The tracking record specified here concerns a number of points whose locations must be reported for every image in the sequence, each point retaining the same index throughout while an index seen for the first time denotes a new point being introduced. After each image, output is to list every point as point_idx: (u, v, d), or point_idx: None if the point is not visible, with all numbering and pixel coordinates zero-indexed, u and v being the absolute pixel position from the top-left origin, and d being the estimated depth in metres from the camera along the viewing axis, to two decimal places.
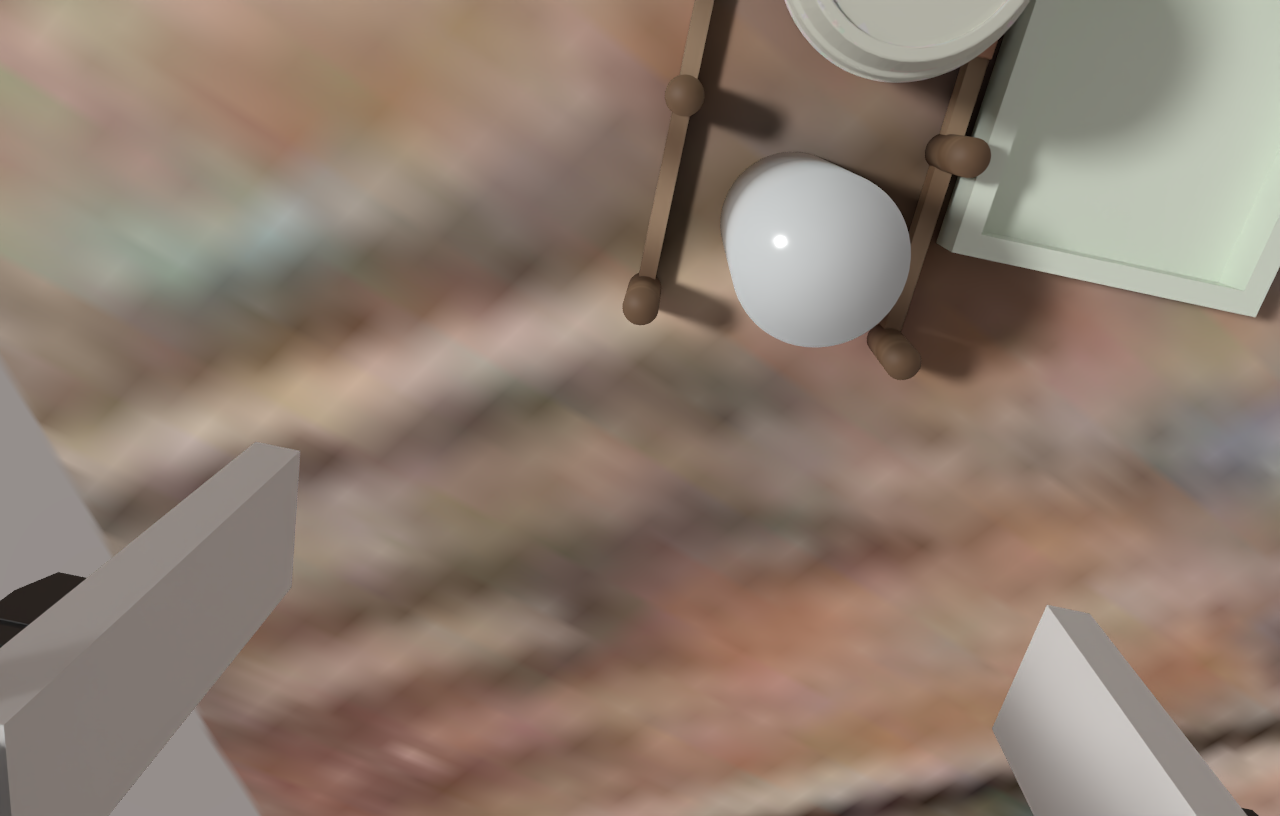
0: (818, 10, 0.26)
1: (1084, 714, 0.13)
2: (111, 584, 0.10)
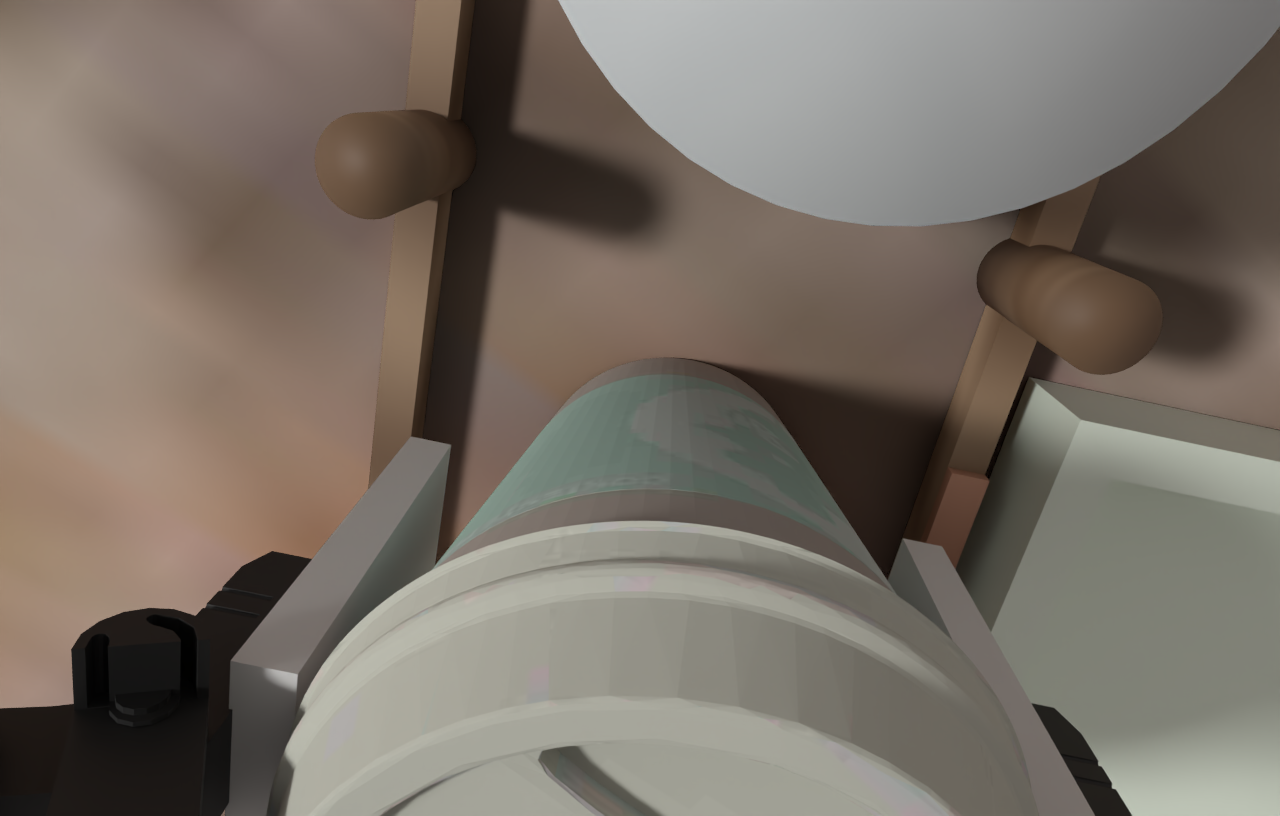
0: None
1: None
2: (338, 560, 0.11)
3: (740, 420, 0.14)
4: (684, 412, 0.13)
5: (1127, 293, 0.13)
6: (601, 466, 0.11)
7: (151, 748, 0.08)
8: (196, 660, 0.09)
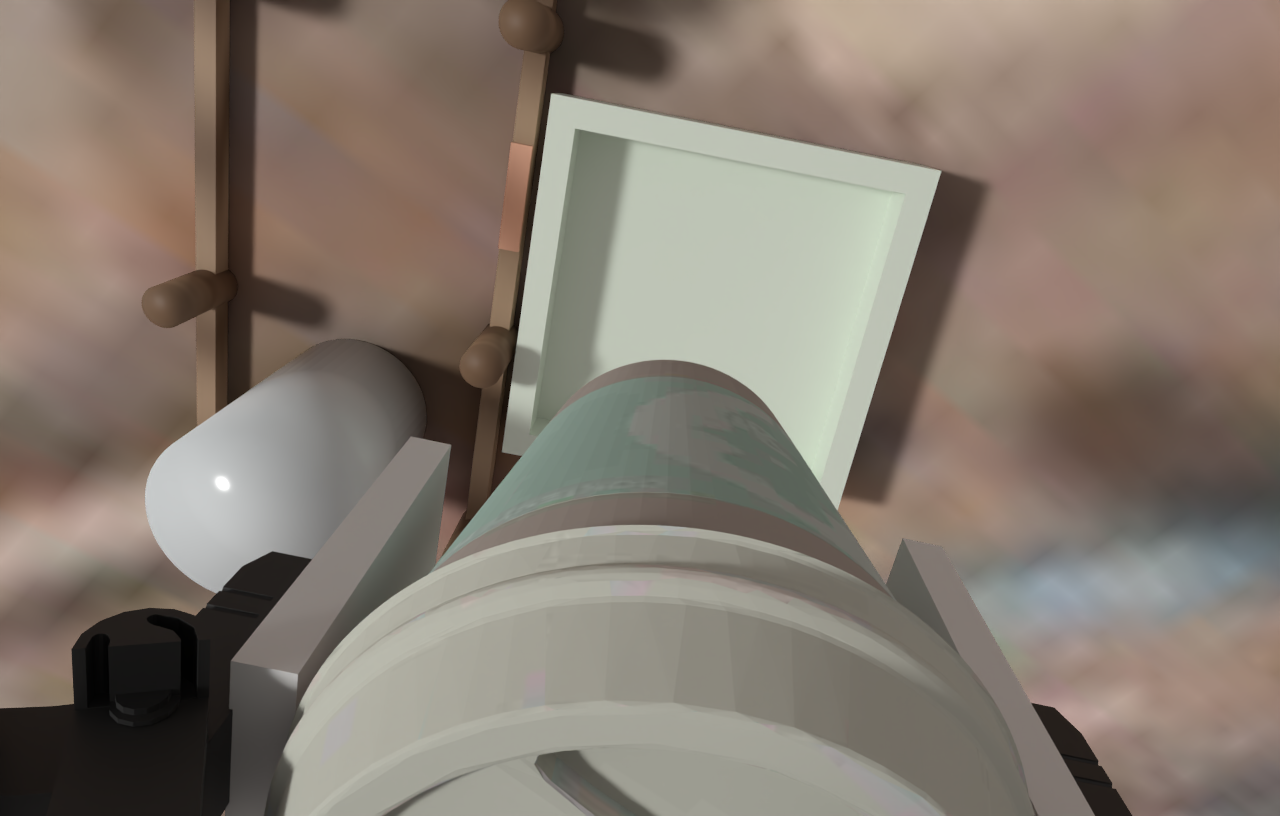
0: None
1: None
2: (338, 559, 0.11)
3: (738, 422, 0.14)
4: (682, 414, 0.13)
5: (527, 3, 0.27)
6: (598, 468, 0.11)
7: (151, 748, 0.08)
8: (196, 660, 0.09)
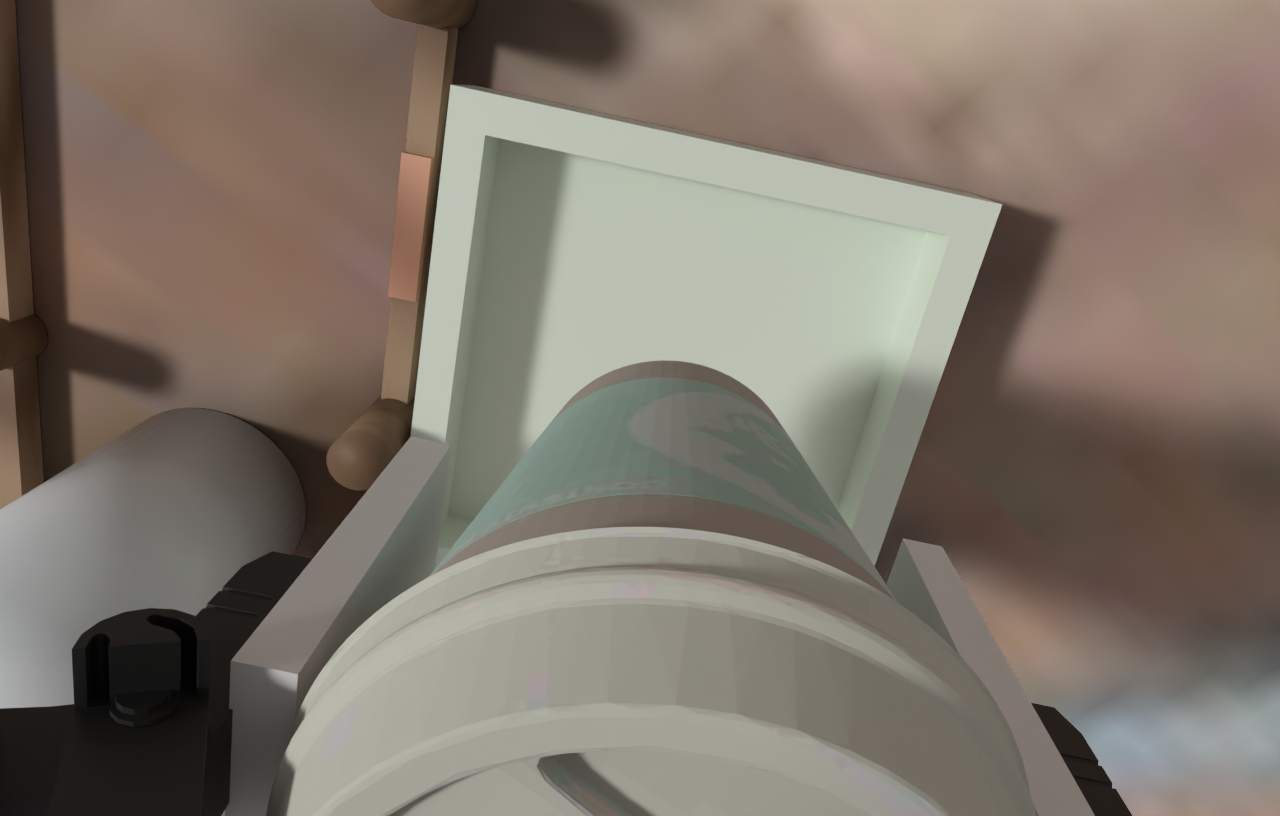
0: None
1: None
2: (337, 560, 0.11)
3: (739, 423, 0.14)
4: (683, 416, 0.13)
5: None
6: (600, 469, 0.11)
7: (151, 748, 0.08)
8: (196, 660, 0.09)
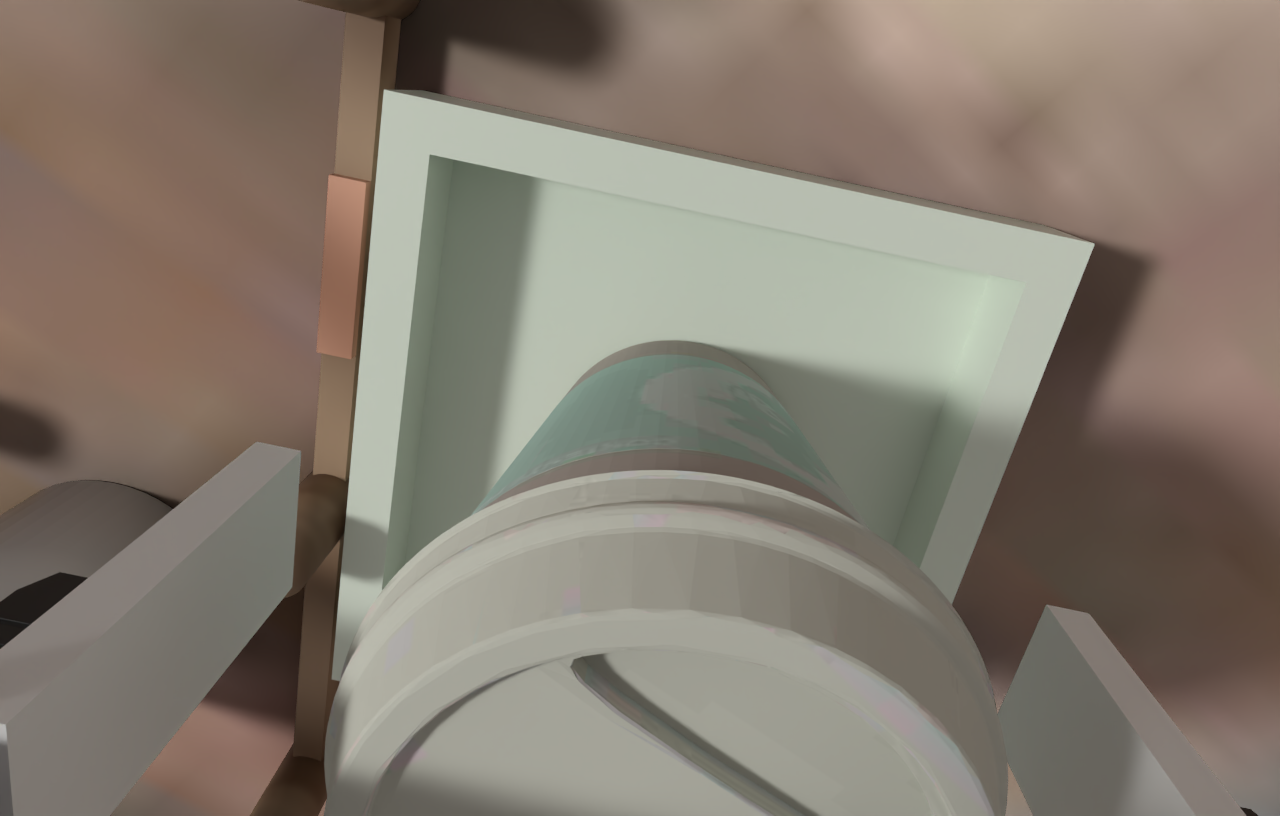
0: None
1: (1084, 714, 0.13)
2: (112, 584, 0.10)
3: (740, 394, 0.15)
4: (689, 386, 0.15)
5: None
6: (615, 431, 0.12)
7: None
8: None
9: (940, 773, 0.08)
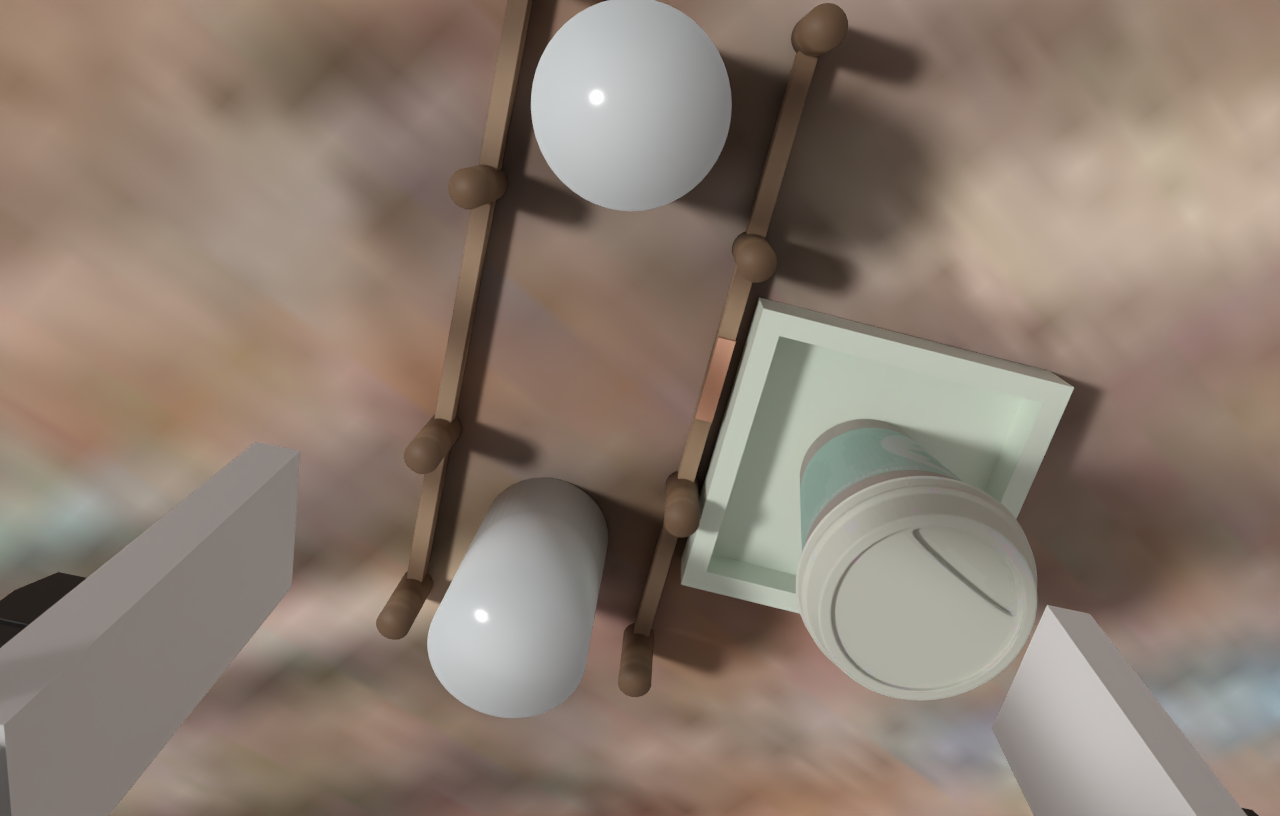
0: (830, 657, 0.30)
1: (1084, 714, 0.13)
2: (111, 584, 0.10)
3: (920, 449, 0.35)
4: (901, 445, 0.35)
5: (762, 249, 0.34)
6: (889, 462, 0.32)
7: None
8: None
9: (1019, 568, 0.28)
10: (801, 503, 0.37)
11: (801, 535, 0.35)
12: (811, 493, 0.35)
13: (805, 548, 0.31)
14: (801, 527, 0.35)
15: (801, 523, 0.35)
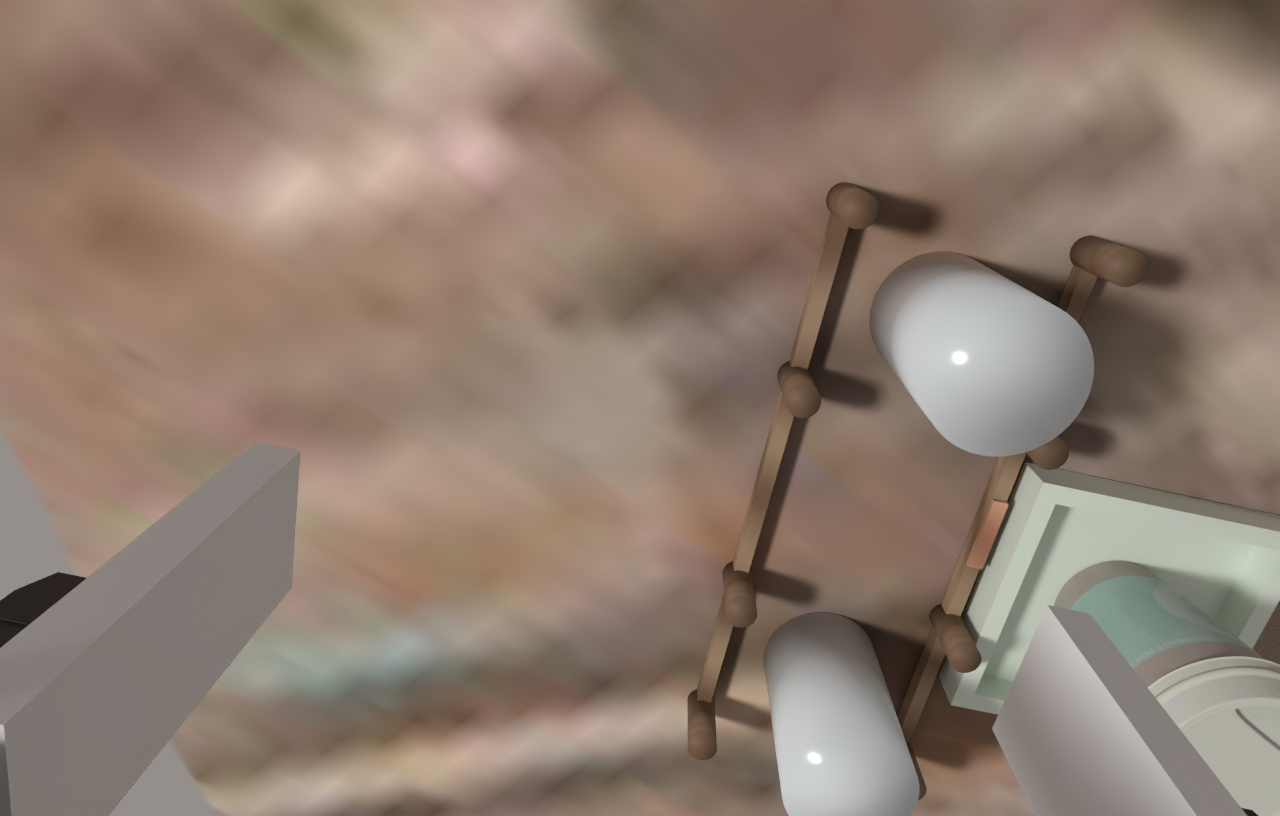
0: None
1: (1085, 714, 0.13)
2: (111, 584, 0.10)
3: (1188, 603, 0.41)
4: (1174, 602, 0.41)
5: (1057, 443, 0.39)
6: (1182, 629, 0.38)
7: None
8: None
9: None
10: None
11: None
12: None
13: None
14: None
15: None
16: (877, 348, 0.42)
